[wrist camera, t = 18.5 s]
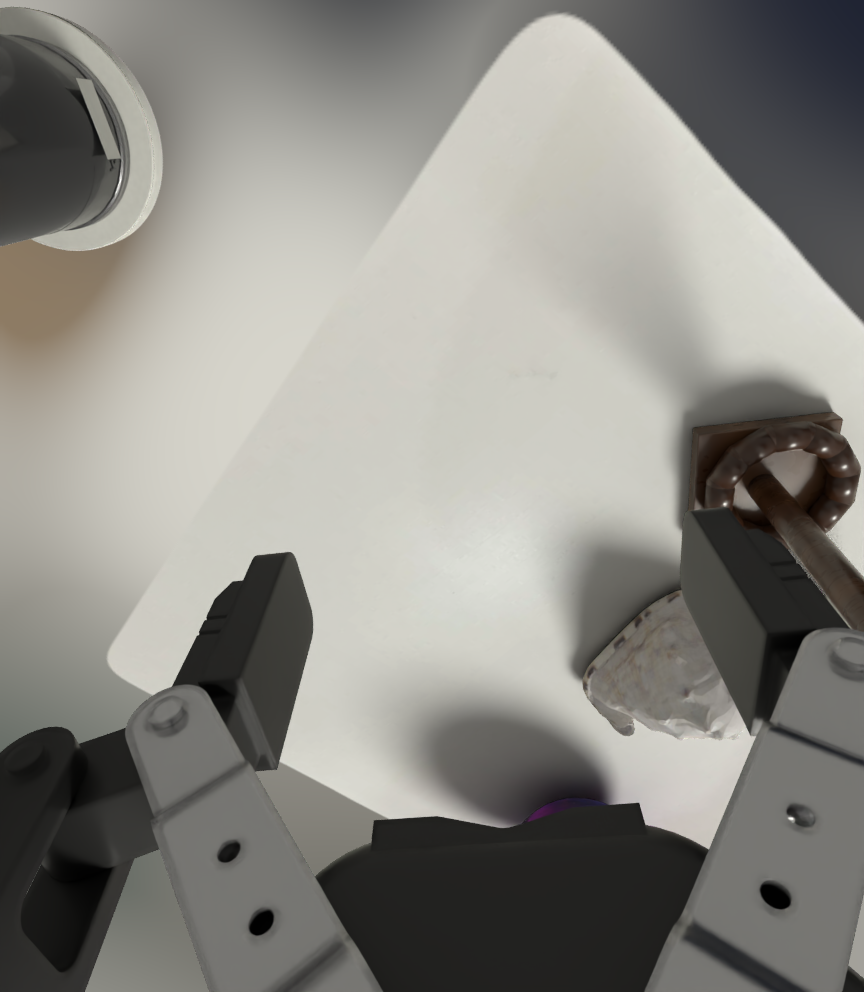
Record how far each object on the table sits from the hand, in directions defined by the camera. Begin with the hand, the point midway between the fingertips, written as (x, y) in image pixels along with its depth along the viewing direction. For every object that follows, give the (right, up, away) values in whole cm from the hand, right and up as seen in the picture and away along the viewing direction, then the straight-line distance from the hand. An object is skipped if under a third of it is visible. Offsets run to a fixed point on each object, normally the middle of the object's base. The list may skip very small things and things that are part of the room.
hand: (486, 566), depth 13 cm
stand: (+22, +3, +31) cm, 38 cm away
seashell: (+19, -11, +40) cm, 46 cm away
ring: (+22, +2, +29) cm, 37 cm away
